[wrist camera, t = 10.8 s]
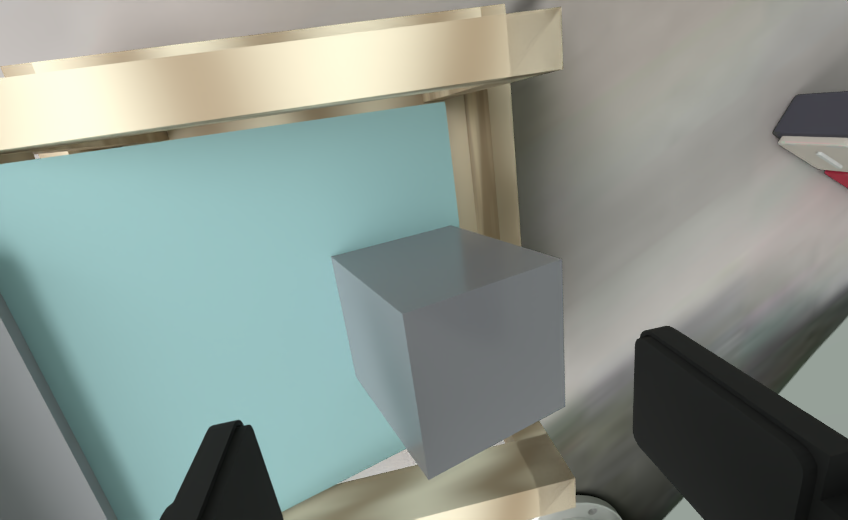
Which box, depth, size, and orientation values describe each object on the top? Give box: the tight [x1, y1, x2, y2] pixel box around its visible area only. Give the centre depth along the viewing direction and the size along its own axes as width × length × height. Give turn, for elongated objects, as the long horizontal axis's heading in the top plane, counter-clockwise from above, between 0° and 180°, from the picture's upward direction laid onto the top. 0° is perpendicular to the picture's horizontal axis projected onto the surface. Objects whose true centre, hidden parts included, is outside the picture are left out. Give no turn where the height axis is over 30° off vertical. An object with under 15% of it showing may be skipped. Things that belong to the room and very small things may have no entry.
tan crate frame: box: [0, 4, 576, 520], centre depth 20 cm, size 22×22×16 cm
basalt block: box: [331, 225, 565, 480], centre depth 14 cm, size 5×5×6 cm
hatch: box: [0, 102, 460, 520], centre depth 13 cm, size 19×14×4 cm
